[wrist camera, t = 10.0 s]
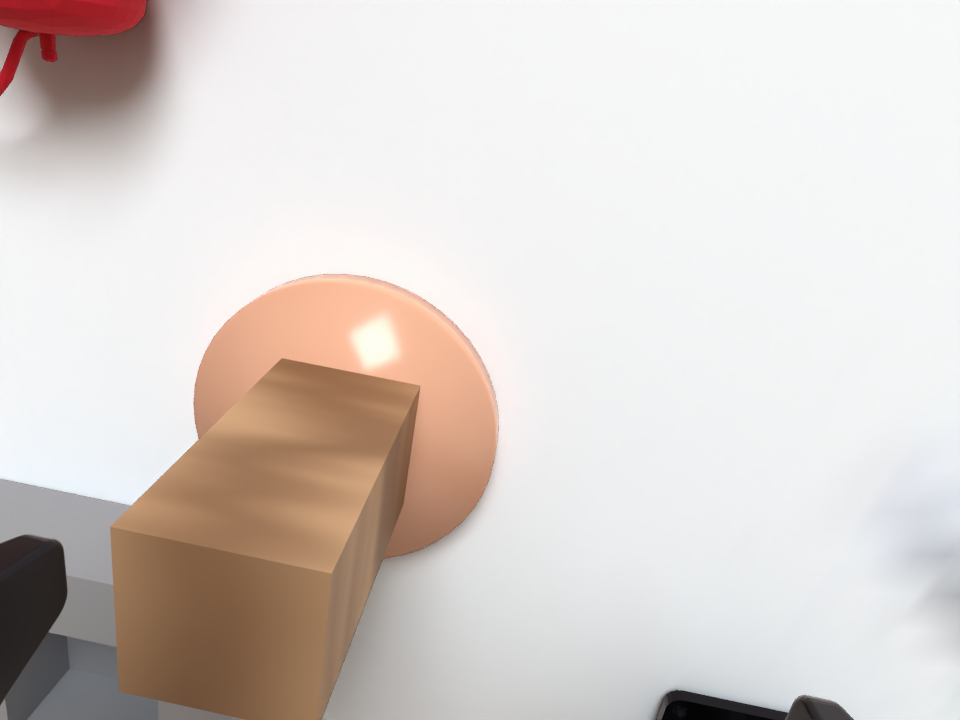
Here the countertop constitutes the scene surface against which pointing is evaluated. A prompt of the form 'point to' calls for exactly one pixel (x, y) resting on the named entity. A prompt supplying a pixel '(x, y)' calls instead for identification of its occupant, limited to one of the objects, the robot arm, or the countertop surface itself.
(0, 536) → the pocket holder
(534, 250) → the countertop surface
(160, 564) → the walnut block
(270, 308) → the terracotta plate
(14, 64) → the alarm clock
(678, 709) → the robot arm
